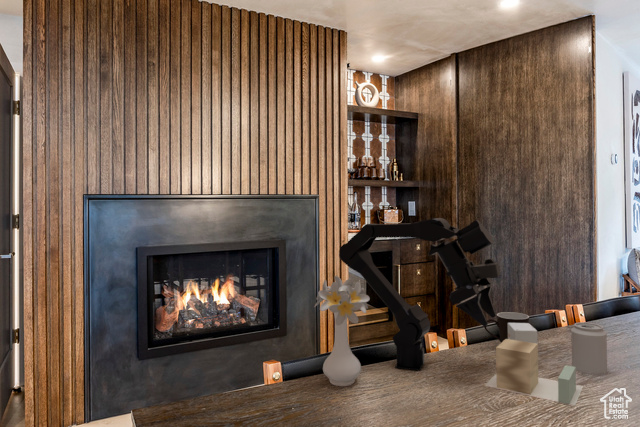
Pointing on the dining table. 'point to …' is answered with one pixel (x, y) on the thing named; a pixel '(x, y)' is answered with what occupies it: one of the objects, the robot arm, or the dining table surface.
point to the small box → (522, 332)
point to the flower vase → (342, 328)
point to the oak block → (517, 366)
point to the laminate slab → (542, 389)
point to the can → (589, 348)
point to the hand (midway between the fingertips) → (490, 321)
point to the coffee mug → (503, 323)
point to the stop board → (567, 384)
